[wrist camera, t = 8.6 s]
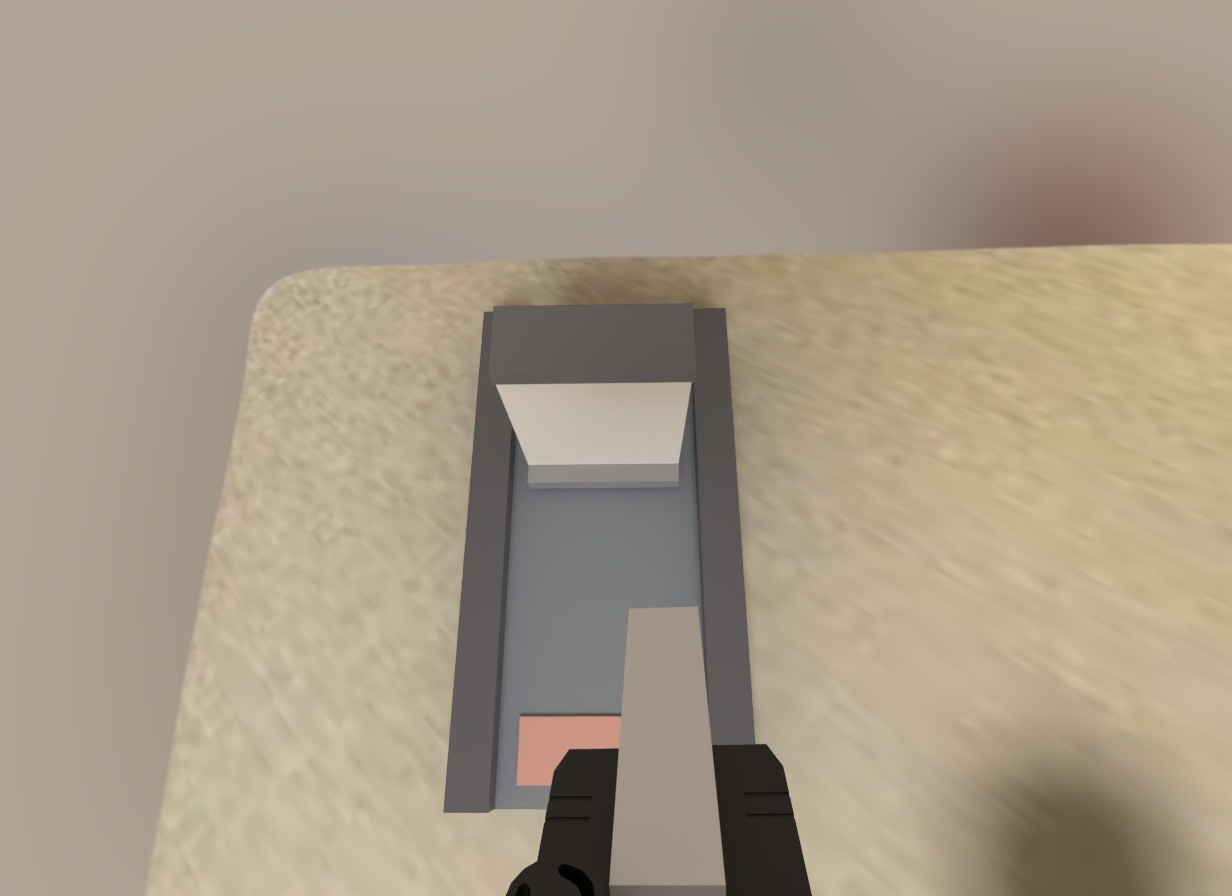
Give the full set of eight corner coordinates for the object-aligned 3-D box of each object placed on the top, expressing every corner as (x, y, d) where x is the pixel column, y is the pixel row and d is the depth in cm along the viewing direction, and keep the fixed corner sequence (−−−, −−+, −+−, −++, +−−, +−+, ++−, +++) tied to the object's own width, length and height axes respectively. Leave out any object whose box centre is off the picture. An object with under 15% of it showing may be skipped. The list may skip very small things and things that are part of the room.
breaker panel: (748, 805, 34) (759, 813, 31) (461, 804, 34) (443, 812, 31) (718, 339, 44) (725, 308, 40) (495, 342, 44) (484, 311, 41)
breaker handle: (679, 487, 38) (697, 393, 27) (528, 488, 38) (486, 395, 27) (676, 403, 40) (691, 284, 29) (532, 405, 40) (495, 287, 29)
